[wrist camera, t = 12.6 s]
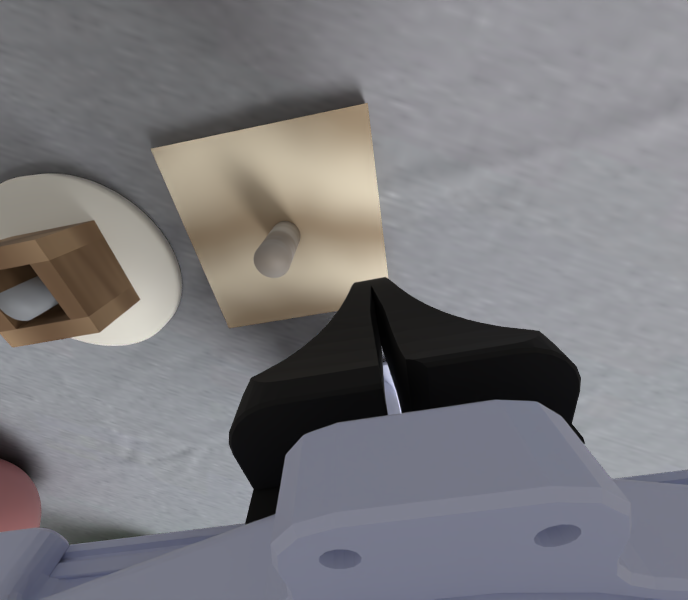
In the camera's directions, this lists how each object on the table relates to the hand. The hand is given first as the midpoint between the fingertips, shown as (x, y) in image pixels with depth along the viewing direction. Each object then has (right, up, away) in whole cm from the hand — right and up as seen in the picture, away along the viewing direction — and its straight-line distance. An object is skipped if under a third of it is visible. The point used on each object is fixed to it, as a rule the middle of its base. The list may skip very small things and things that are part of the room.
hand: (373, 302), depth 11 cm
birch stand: (-5, +5, +8) cm, 10 cm away
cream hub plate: (-19, +2, +9) cm, 21 cm away
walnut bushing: (-19, +2, +8) cm, 20 cm away
